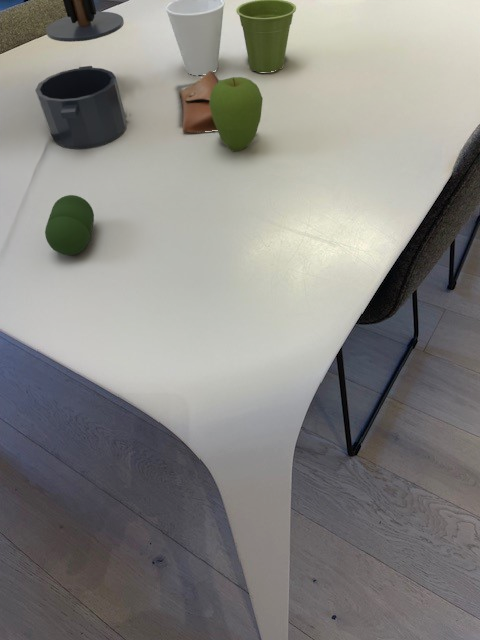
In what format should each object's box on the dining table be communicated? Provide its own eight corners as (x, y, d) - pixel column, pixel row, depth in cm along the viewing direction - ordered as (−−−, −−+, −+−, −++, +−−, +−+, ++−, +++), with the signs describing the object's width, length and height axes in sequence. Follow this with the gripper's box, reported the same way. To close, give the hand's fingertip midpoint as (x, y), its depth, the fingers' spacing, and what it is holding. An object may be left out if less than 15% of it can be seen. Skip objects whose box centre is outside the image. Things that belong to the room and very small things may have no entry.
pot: (42, 160, 85) (23, 111, 78) (63, 110, 98) (48, 65, 91) (121, 153, 85) (108, 104, 78) (131, 104, 97) (121, 59, 91)
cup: (164, 77, 106) (153, 11, 96) (191, 56, 113) (183, -7, 103) (213, 84, 102) (207, 16, 93) (238, 62, 109) (234, -3, 99)
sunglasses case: (176, 91, 99) (189, 58, 95) (208, 105, 102) (221, 74, 98) (181, 133, 87) (197, 98, 83) (217, 148, 90) (234, 115, 86)
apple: (248, 165, 79) (244, 93, 71) (204, 154, 83) (195, 84, 74) (272, 140, 84) (271, 70, 76) (230, 131, 87) (224, 63, 79)
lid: (40, 48, 89) (25, 3, 84) (56, 22, 99) (43, -21, 94) (120, 41, 89) (110, -5, 84) (128, 15, 99) (119, -28, 94)
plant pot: (254, 83, 101) (251, 22, 92) (231, 64, 108) (227, 5, 100) (304, 71, 103) (307, 10, 95) (279, 53, 111) (279, -5, 103)
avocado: (91, 261, 66) (78, 227, 61) (49, 265, 66) (34, 231, 61) (101, 218, 72) (90, 185, 68) (63, 222, 72) (49, 188, 68)
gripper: (-7, -100, 77) (36, 30, 90) (95, -110, 77) (124, 22, 90) (5, -108, 82) (45, 17, 95) (102, -117, 82) (128, 9, 95)
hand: (83, 19), depth 93 cm, fingers closed on lid, 2 cm apart
